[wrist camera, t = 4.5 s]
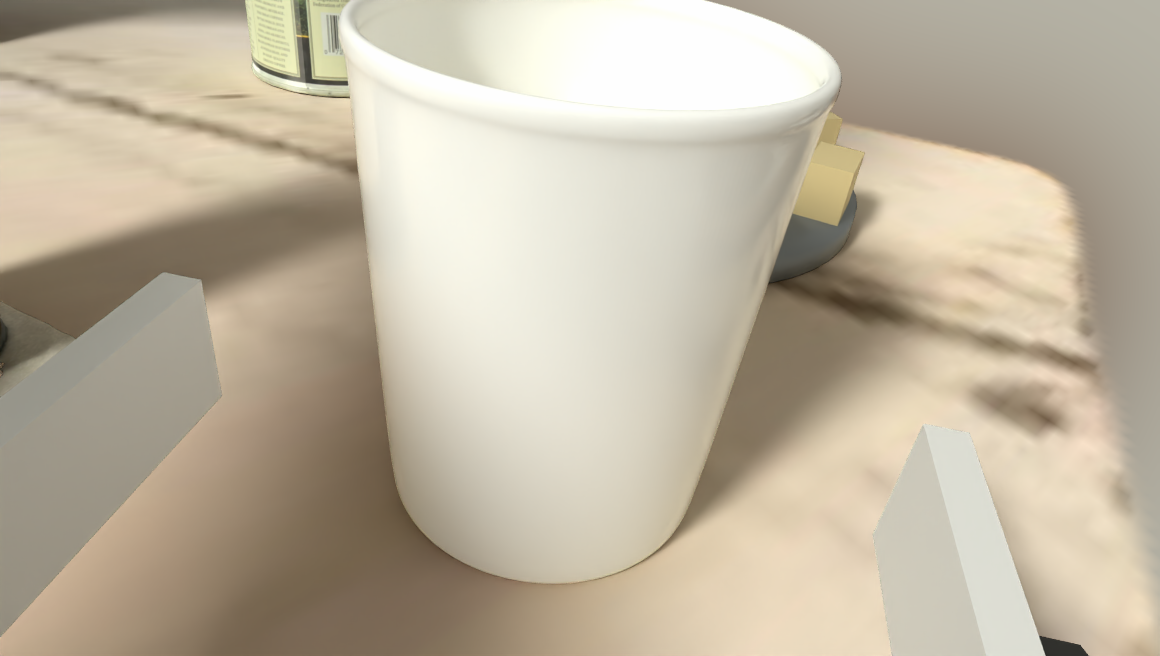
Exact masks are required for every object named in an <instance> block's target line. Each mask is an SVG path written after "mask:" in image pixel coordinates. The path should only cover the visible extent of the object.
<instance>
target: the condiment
mask: <svg viewBox="0 0 1160 656" xmlns="http://www.w3.org/2000/svg"><path fill="white" fill-rule="evenodd" d="M74 340H75V338H74V337H72V336H71V335H69V334H66V333H63V332H61V331H59V330H57V329H55V328H53V327H52V326H51V325H49V324H47V323H46V322H42V321H40V320H38V319H37V318H34V317H32V316H30V315H27V314H25V313H23V312H20V311H18V310H16V309H14V308H12V307H10V306H9V305H7V304H5V303H3V302H2V301H0V363H4V364H5V365H4V366H3V367H2V368H0V370H1V371H3V375H2V376H1V377H0V397H2V396H3V395H4V394H6V393H7V392H8V391H10V390H11V389H12V388H13V387H15V386H16V385H17V384H19V383H20V382H21V381H22V380H24V379H25V378H26V377H28V376H29V375H30V374H32V373H33V372H34V371H35V370H37V369H38V368H39V367H41V366H42V365H43V364H44V363H46V362H47V361H48V360H50V359H51V358H52V357H53V356H55V355H56V354H57V353H59V352H60V351H61V350H63V349H64V348H65V347H66V346H68V345H69V344H70V343H72V342H73V341H74Z"/></svg>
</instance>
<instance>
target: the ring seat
mask: <svg viewBox="0 0 1160 656" xmlns="http://www.w3.org/2000/svg"><path fill="white" fill-rule="evenodd" d="M842 120H843V119H842V118H840V117H838V116H837V115H835V114H834V113H832V112H830V113H829V115H828V117H827V119H826V122H825V124H824V127H823V129H822V132H821V135H820V137H819V140H818V143H817V146H816V148H815V151H814V154H813V157H812V160H811V163H810V165H809V168H808V171H807V174H806V177H805V180H804V183H803V185H802V188H801V191H800V194H799V197H798V200H797V203H796V205H795V208H794V211H793V214H792V217H791V220H790V223H789V226H788V228H787V231H786V234H785V237H784V240H783V243H782V246H781V248H780V251H779V254H778V257H777V260H776V263H775V266H774V269H773V271H772V274H771V277H770V280H769V283H772V282H776V281H780V280H784V279H788V278H792V277H796V276H798V275H801V274H803V273H806V272H809V271H811V270H814V269H816V268H817V267H819V266H821V265H822V264H824V263H826V262H828V261H829V260H830V259H831V258H833V257H834V256H835V255H836V254H837V253H838V252H839V251H840V250H841V248H842V247H843V245H844V244H845V242H846V241H847V238H848V234H849V231H850V228H851V225H852V222H853V219H854V216H855V212H856V208H857V203H856V195H855V193H854V190H853V188H854V185H855V182H856V179H857V176H858V172H859V169H860V166H861V163H862V160H863V157H864V154H865V152H861V151H857V150H853V149H849V148H845V147H841V146H838V145H835V144H836V140H837V137H838V134H839V130H840V127H841V124H842Z"/></svg>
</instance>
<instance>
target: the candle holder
mask: <svg viewBox="0 0 1160 656" xmlns="http://www.w3.org/2000/svg"><path fill="white" fill-rule="evenodd" d="M338 33H339V40H340V44H341V47H342V50H343V53H344V58H345V64H346V70H347V78H348V86H349V94H350V102H351V111H352V120H353V129H354V138H355V147H356V156H357V165H358V174H359V183H360V192H361V200H362V209H363V218H364V227H365V236H366V245H367V254H368V263H369V272H370V281H371V290H372V299H373V308H374V317H375V326H376V335H377V344H378V353H379V362H380V371H381V380H382V388H383V397H384V406H385V414H386V422H387V431H388V439H389V446H390V454H391V460H392V467H393V473H394V478H395V482H396V486H397V490H398V493H399V495H400V498H401V501H402V503H403V505H404V507H405V509H406V511H407V512H408V514H409V516H410V517H411V519H412V520H413V522H414V523H415V524H416V525H417V527H418V528H419V529H420V530H421V531H422V532H423V533H424V535H425V536H426V537H428V538H429V539H430V540H431V541H432V542H433V543H434V544H435V545H437V546H438V547H439V548H440V549H442V550H443V551H445V552H446V553H448V554H449V555H451V556H452V557H454V558H456V559H457V560H459V561H461V562H463V563H465V564H467V565H469V566H471V567H473V568H476V569H478V570H481V571H483V572H486V573H489V574H492V575H495V576H499V577H503V578H507V579H511V580H516V581H522V582H530V583H542V584H564V583H576V582H583V581H589V580H594V579H598V578H602V577H606V576H609V575H612V574H615V573H618V572H620V571H623V570H625V569H627V568H629V567H631V566H633V565H635V564H637V563H639V562H641V561H642V560H644V559H645V558H647V557H648V556H650V555H651V554H653V553H654V552H655V551H656V550H658V549H659V548H660V547H661V546H662V545H663V544H664V543H665V542H666V541H667V540H668V539H669V538H670V537H671V535H672V534H673V533H674V532H675V530H676V529H677V527H678V526H679V524H680V523H681V521H682V519H683V517H684V515H685V513H686V511H687V509H688V507H689V505H690V502H691V500H692V497H693V495H694V492H695V490H696V487H697V484H698V482H699V479H700V476H701V474H702V471H703V468H704V465H705V463H706V460H707V457H708V454H709V451H710V449H711V446H712V443H713V440H714V437H715V435H716V432H717V429H718V426H719V423H720V420H721V418H722V415H723V412H724V409H725V406H726V403H727V400H728V398H729V395H730V392H731V389H732V386H733V383H734V380H735V378H736V375H737V372H738V369H739V366H740V363H741V360H742V357H743V355H744V352H745V349H746V346H747V343H748V340H749V337H750V335H751V332H752V329H753V326H754V323H755V320H756V317H757V314H758V312H759V309H760V306H761V303H762V300H763V297H764V294H765V292H766V289H767V286H768V283H769V280H770V277H771V274H772V271H773V269H774V266H775V263H776V260H777V257H778V254H779V251H780V248H781V246H782V243H783V240H784V237H785V234H786V231H787V228H788V226H789V223H790V220H791V217H792V214H793V211H794V208H795V205H796V203H797V200H798V197H799V194H800V191H801V188H802V185H803V183H804V180H805V177H806V174H807V171H808V168H809V165H810V163H811V160H812V157H813V154H814V151H815V148H816V146H817V143H818V140H819V137H820V135H821V132H822V129H823V127H824V124H825V122H826V119H827V117H828V115H829V113H830V111H831V109H832V107H833V106H834V104H835V102H836V100H837V98H838V95H839V92H840V88H841V82H842V80H841V79H842V77H841V71H840V68H839V66H838V64H837V62H836V61H835V59H834V58H833V57H832V56H831V55H830V54H829V53H828V52H827V51H826V50H825V49H824V48H822V47H821V46H820V45H818V44H817V43H815V42H814V41H812V40H810V39H809V38H807V37H805V36H803V35H801V34H800V33H798V32H796V31H794V30H792V29H789V28H787V27H785V26H783V25H780V24H778V23H775V22H773V21H770V20H767V19H765V18H762V17H760V16H756V15H754V14H751V13H748V12H745V11H741V10H738V9H735V8H731V7H728V6H724V5H721V4H717V3H713V2H709V1H705V0H350V1H349V2H348V3H347V4H346V5H345V6H344V7H343V9H342V11H341V13H340V16H339V21H338Z"/></svg>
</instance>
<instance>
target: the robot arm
mask: <svg viewBox="0 0 1160 656" xmlns="http://www.w3.org/2000/svg"><path fill="white" fill-rule="evenodd" d="M221 396H222V392H221V387H220V381H219V376H218V370H217V364H216V359H215V353H214V348H213V342H212V337H211V331H210V326H209V320H208V315H207V309H206V304H205V298H204V293H203V287H202V281H201V280H200V279H195V278H190V277H185V276H180V275H175V274H170V273H165V272H162V273H161V274H160V275H158V276H157V277H156V278H154V279H153V280H152V281H151V282H149V283H148V284H147V285H145V286H144V287H143V288H141V289H140V290H139V291H138V292H136V293H135V294H134V295H132V296H131V297H130V298H129V299H127V300H126V301H125V302H123V303H122V304H121V305H119V306H118V307H117V308H116V309H114V310H113V311H112V312H110V313H109V314H108V315H107V316H105V317H104V318H103V319H101V320H100V321H99V322H97V323H96V324H95V325H94V326H92V327H91V328H90V329H88V330H87V331H86V332H85V333H83V334H82V335H81V336H79V337H78V338H77V339H75V340H74V341H73V342H72V343H70V344H69V345H68V346H66V347H65V348H64V349H63V350H61V351H60V352H59V353H57V354H56V355H55V356H53V357H52V358H51V359H50V360H48V361H47V362H46V363H44V364H43V365H42V366H41V367H39V368H38V369H37V370H35V371H34V372H33V373H32V374H30V375H29V376H28V377H26V378H25V379H24V380H22V381H21V382H20V383H19V384H17V385H16V386H15V387H13V388H12V389H11V390H10V391H8V392H7V393H6V394H4V395H3V396H2V397H0V637H1V636H2V635H3V634H4V633H5V632H6V630H7V629H8V628H9V627H10V626H11V625H12V624H13V623H14V622H15V621H16V620H17V619H18V617H19V616H20V615H21V614H22V613H23V612H24V611H25V610H26V609H27V608H28V607H29V605H30V604H31V603H32V602H33V601H34V600H35V599H36V598H37V597H38V596H39V595H40V593H41V592H42V591H43V590H44V589H45V588H46V587H47V586H48V585H49V584H50V583H51V581H52V580H53V579H54V578H55V577H56V576H57V575H58V574H59V573H60V572H61V571H62V570H63V568H64V567H65V566H66V565H67V564H68V563H69V562H70V561H71V560H72V559H73V558H74V556H75V555H76V554H77V553H78V552H79V551H80V550H81V549H82V548H83V547H84V546H85V544H86V543H87V542H88V541H89V540H90V539H91V538H92V537H93V536H94V535H95V534H96V532H97V531H98V530H99V529H100V528H101V527H102V526H103V525H104V524H105V523H106V522H107V520H108V519H109V518H110V517H111V516H112V515H113V514H114V513H115V512H116V511H117V510H118V509H119V507H120V506H121V505H122V504H123V503H124V502H125V501H126V500H127V499H128V498H129V497H130V495H131V494H132V493H133V492H134V491H135V490H136V489H137V488H138V487H139V486H140V485H141V483H142V482H143V481H144V480H145V479H146V478H147V477H148V476H149V475H150V474H151V473H152V471H153V470H154V469H155V468H156V467H157V466H158V465H159V464H160V463H161V462H162V461H163V459H164V458H165V457H166V456H167V455H168V454H169V453H170V452H171V451H172V450H173V449H174V448H175V446H176V445H177V444H178V443H179V442H180V441H181V440H182V439H183V438H184V437H185V436H186V434H187V433H188V432H189V431H190V430H191V429H192V428H193V427H194V426H195V425H196V424H197V422H198V421H199V420H200V419H201V418H202V417H203V416H204V415H205V414H206V413H207V412H208V410H209V409H210V408H211V407H212V406H213V405H214V404H215V403H216V402H217V401H218V400H219V399H220V397H221ZM873 540H874V546H875V552H876V559H877V565H878V571H879V577H880V584H881V590H882V596H883V603H884V609H885V615H886V622H887V628H888V634H889V640H890V647H891V653H892V656H1088V654H1087V653H1086V652H1085V650H1084V649H1083V648H1082V647H1081V645H1078V644H1074V643H1069V642H1064V641H1060V640H1055V639H1051V638H1046V637H1042V636H1039V635H1038V632H1037V629H1036V626H1035V623H1034V620H1033V618H1032V615H1031V612H1030V609H1029V606H1028V603H1027V600H1026V597H1025V594H1024V591H1023V588H1022V585H1021V582H1020V579H1019V576H1018V573H1017V571H1016V568H1015V565H1014V562H1013V559H1012V556H1011V553H1010V550H1009V547H1008V544H1007V541H1006V538H1005V535H1004V532H1003V529H1002V527H1001V524H1000V521H999V518H998V515H997V512H996V509H995V506H994V503H993V500H992V497H991V494H990V491H989V488H988V485H987V483H986V480H985V477H984V474H983V471H982V468H981V465H980V462H979V459H978V456H977V453H976V450H975V447H974V444H973V441H972V439H971V436H970V433H968V432H963V431H958V430H953V429H948V428H943V427H938V426H933V425H928V424H923V426H922V428H921V430H920V432H919V434H918V436H917V439H916V441H915V443H914V445H913V447H912V450H911V452H910V454H909V456H908V458H907V460H906V463H905V465H904V467H903V469H902V471H901V474H900V476H899V478H898V480H897V482H896V485H895V487H894V489H893V491H892V493H891V495H890V498H889V500H888V502H887V504H886V506H885V509H884V511H883V513H882V515H881V517H880V519H879V522H878V524H877V526H876V528H875V530H874V533H873Z"/></svg>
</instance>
